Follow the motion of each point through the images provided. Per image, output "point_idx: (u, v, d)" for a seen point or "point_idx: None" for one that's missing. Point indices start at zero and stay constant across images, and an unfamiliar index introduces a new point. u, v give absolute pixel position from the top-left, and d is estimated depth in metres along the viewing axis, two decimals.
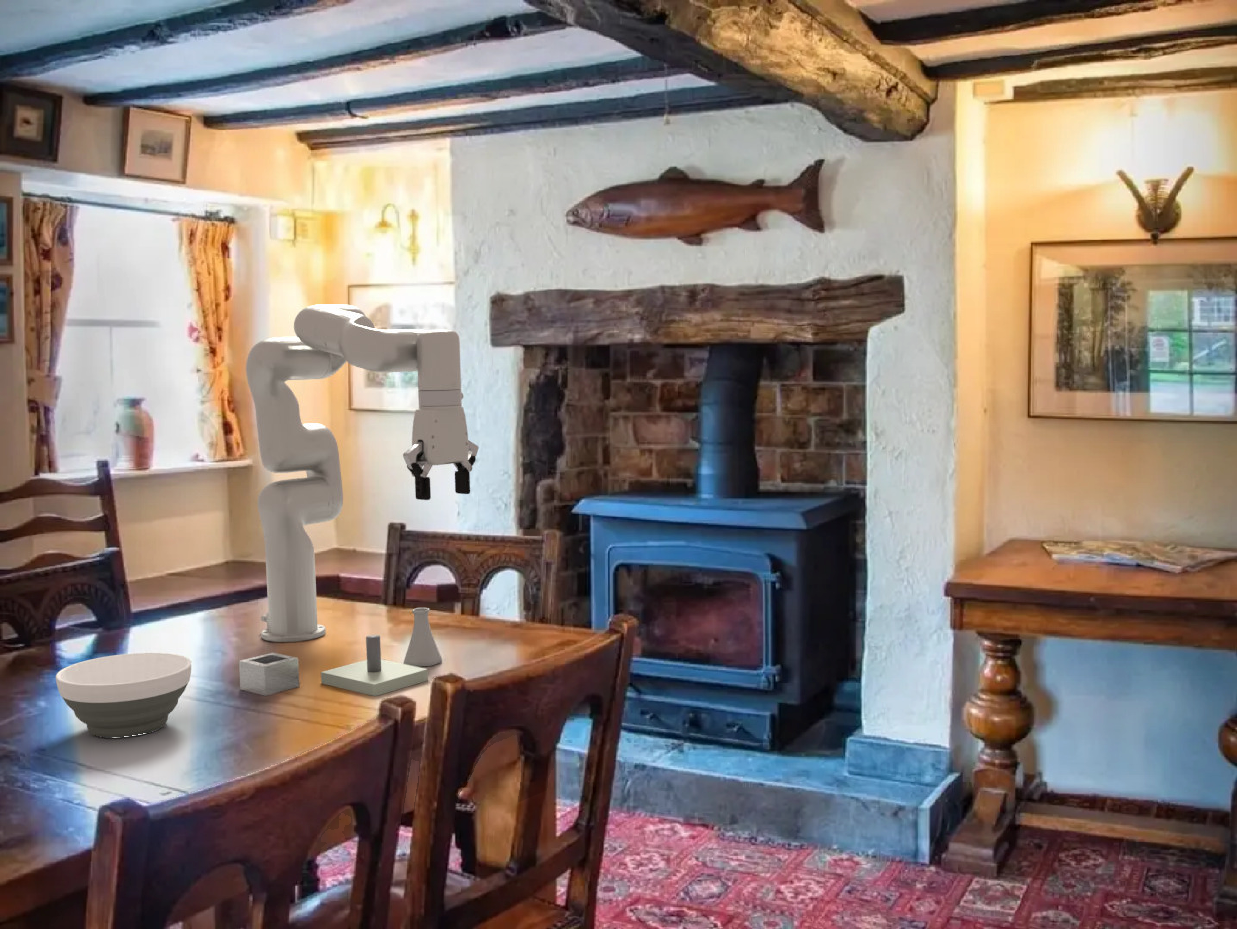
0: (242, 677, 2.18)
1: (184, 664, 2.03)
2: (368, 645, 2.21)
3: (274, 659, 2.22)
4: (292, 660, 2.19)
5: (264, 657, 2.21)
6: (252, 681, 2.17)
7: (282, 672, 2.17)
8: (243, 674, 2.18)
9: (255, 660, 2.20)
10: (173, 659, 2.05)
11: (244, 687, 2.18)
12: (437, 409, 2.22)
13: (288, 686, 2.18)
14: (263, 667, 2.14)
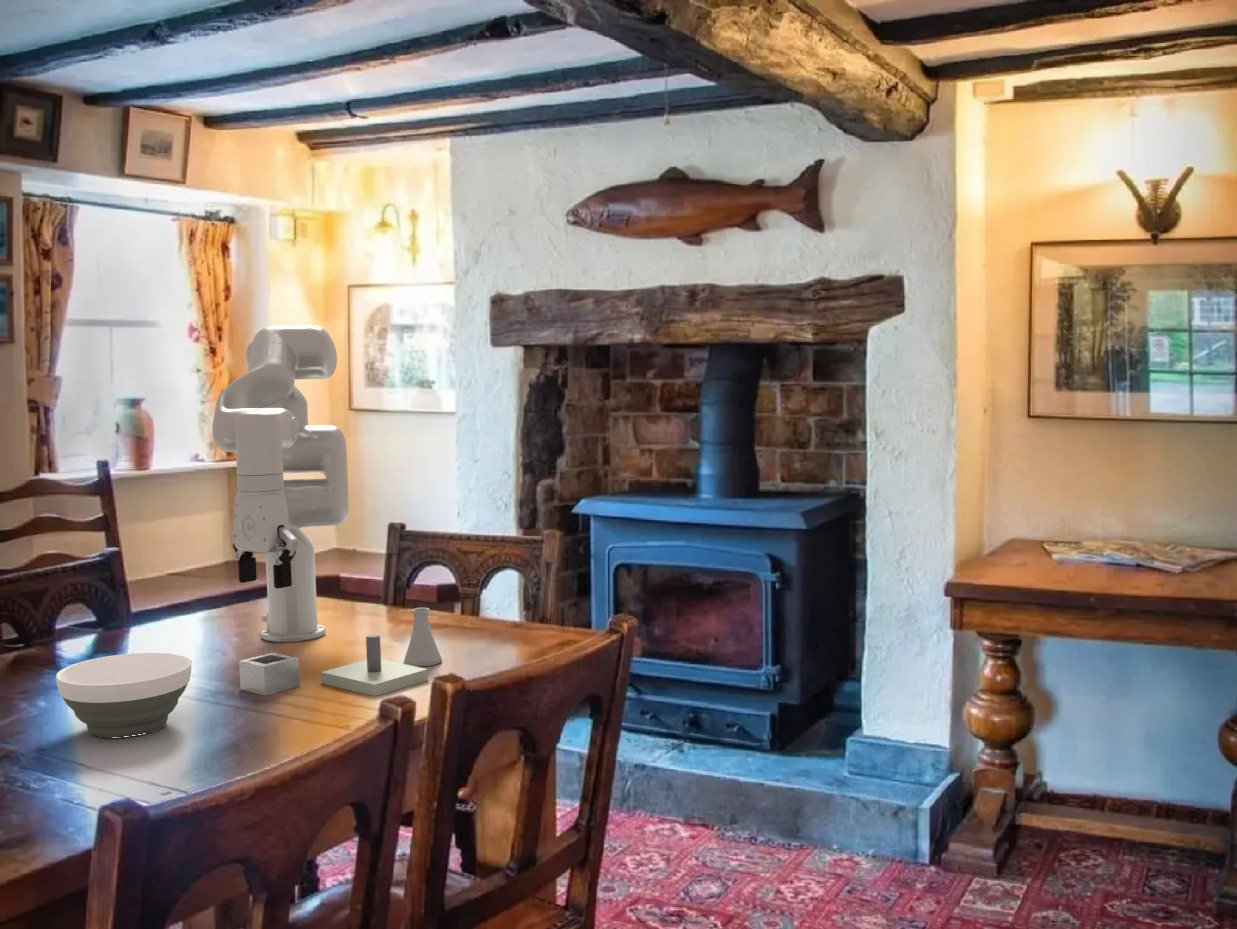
0: (242, 677, 2.18)
1: (184, 664, 2.03)
2: (368, 645, 2.21)
3: (274, 659, 2.22)
4: (292, 660, 2.19)
5: (264, 657, 2.21)
6: (252, 681, 2.17)
7: (282, 672, 2.17)
8: (243, 674, 2.18)
9: (255, 660, 2.20)
10: (173, 659, 2.05)
11: (244, 687, 2.18)
12: (282, 492, 2.16)
13: (288, 686, 2.18)
14: (263, 667, 2.14)
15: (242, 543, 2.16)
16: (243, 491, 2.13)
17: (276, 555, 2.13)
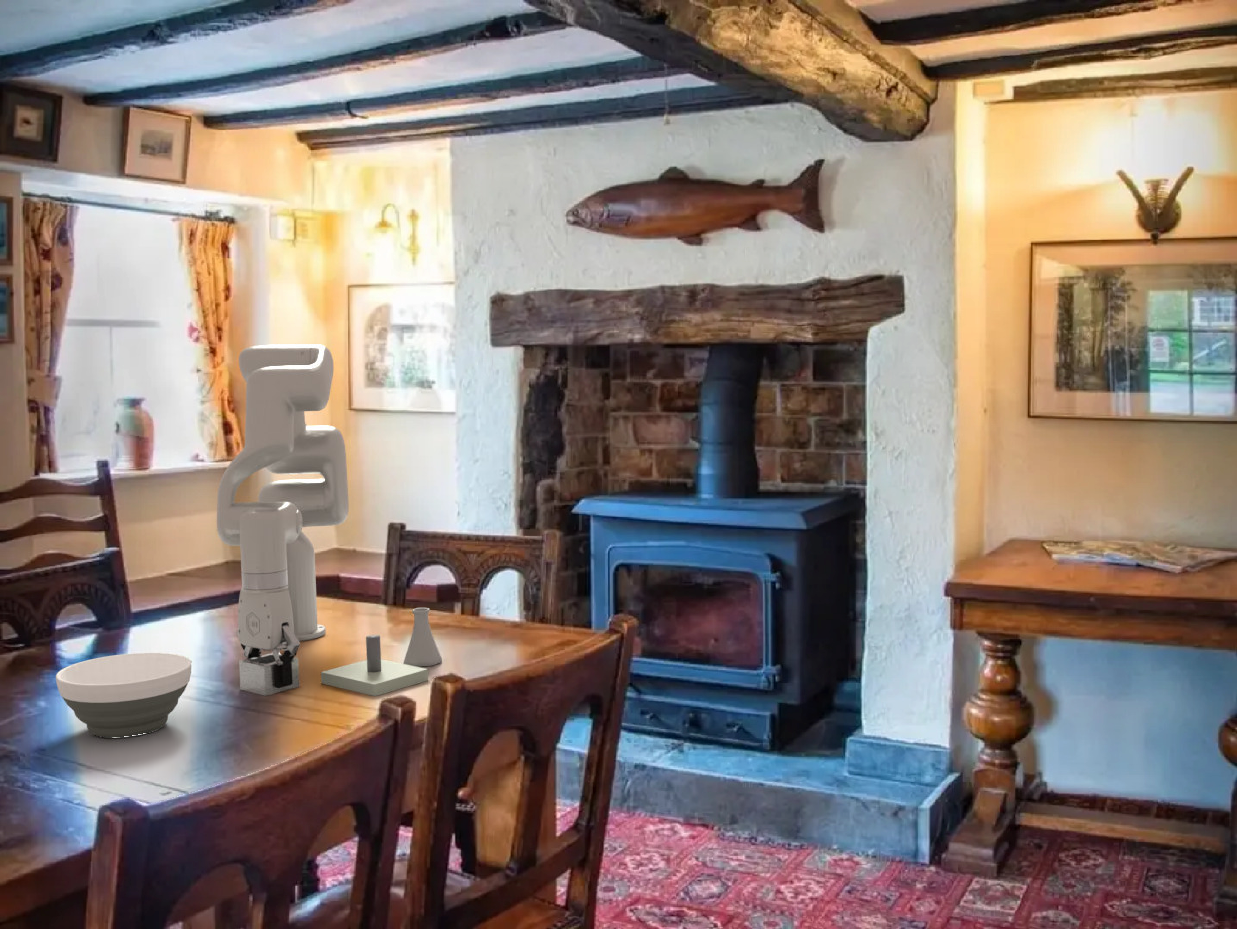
0: (242, 677, 2.18)
1: (184, 664, 2.03)
2: (368, 645, 2.21)
3: (274, 659, 2.22)
4: None
5: (264, 657, 2.21)
6: (252, 681, 2.17)
7: None
8: (243, 674, 2.18)
9: (255, 660, 2.20)
10: (173, 659, 2.05)
11: (244, 687, 2.18)
12: (286, 588, 2.18)
13: (288, 686, 2.18)
14: (263, 667, 2.14)
15: (247, 639, 2.18)
16: (247, 589, 2.15)
17: (278, 655, 2.15)
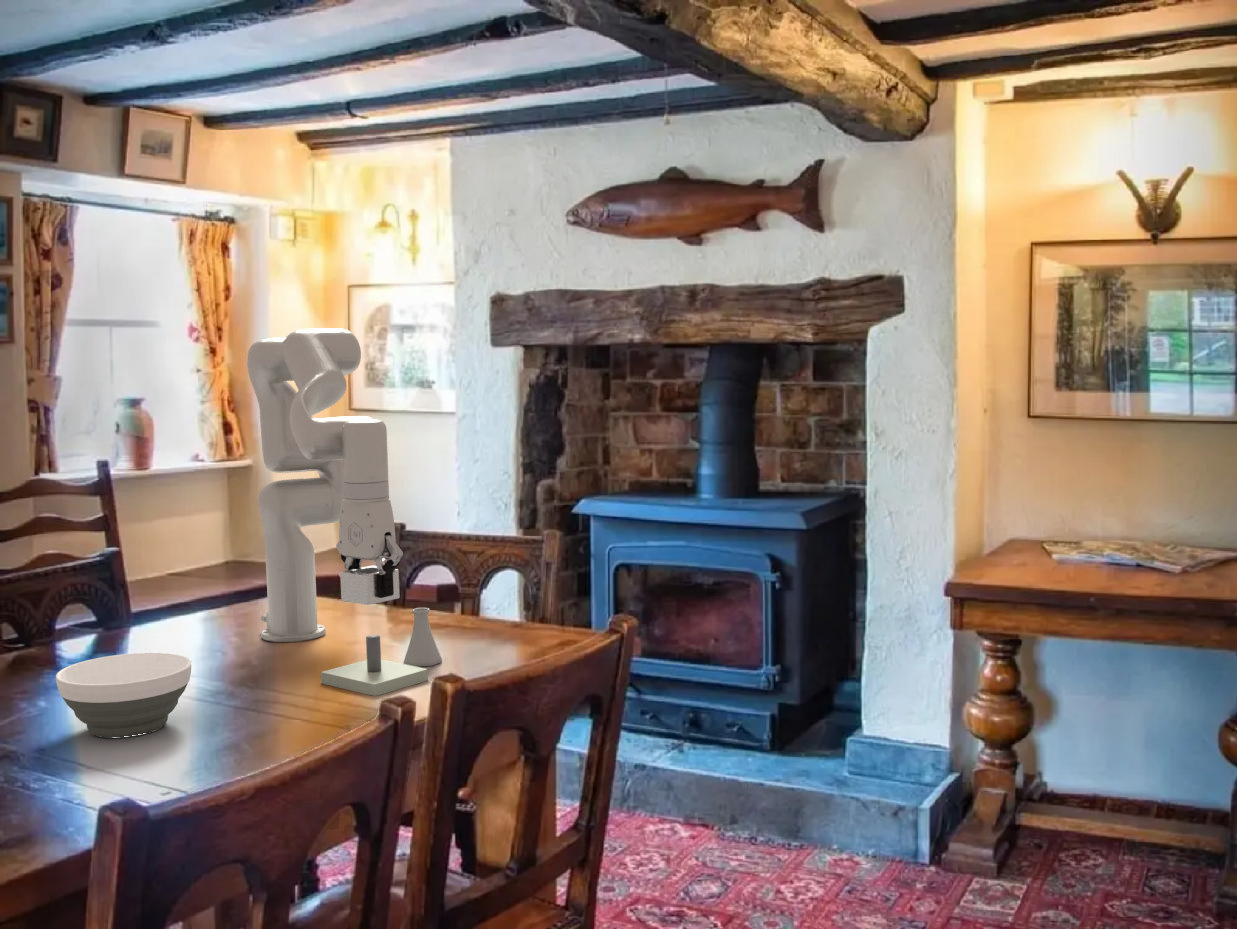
0: (343, 588, 2.20)
1: (184, 664, 2.03)
2: (368, 645, 2.21)
3: (374, 571, 2.23)
4: None
5: (364, 569, 2.22)
6: (354, 591, 2.18)
7: None
8: (344, 585, 2.19)
9: (356, 571, 2.21)
10: (173, 659, 2.05)
11: (345, 598, 2.19)
12: (388, 499, 2.19)
13: (389, 597, 2.19)
14: (366, 576, 2.16)
15: (348, 549, 2.19)
16: (351, 498, 2.16)
17: (380, 565, 2.16)
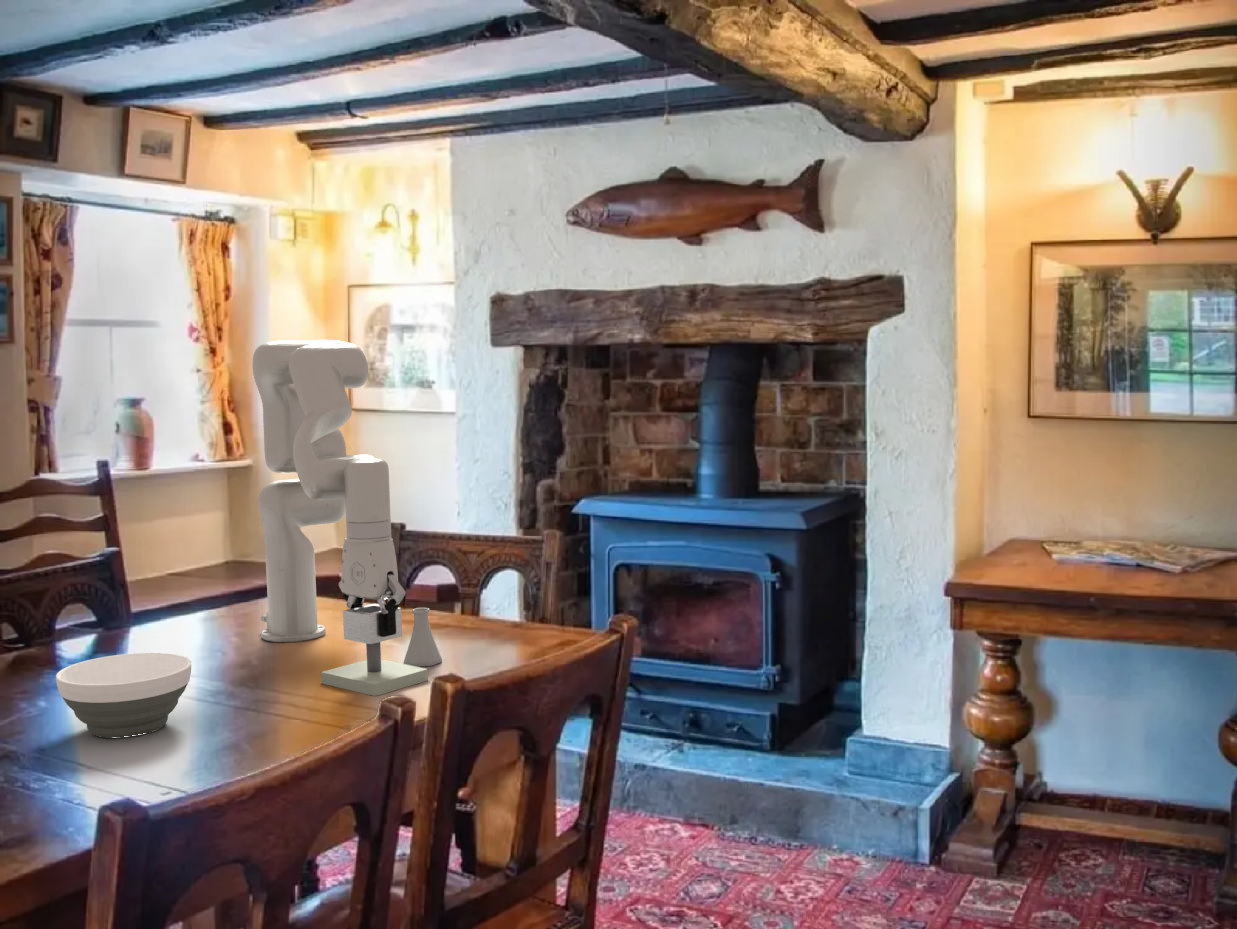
0: (346, 627, 2.20)
1: (184, 664, 2.03)
2: (368, 645, 2.21)
3: (376, 610, 2.24)
4: None
5: (366, 607, 2.23)
6: (357, 630, 2.18)
7: None
8: (347, 624, 2.20)
9: (358, 610, 2.21)
10: (173, 659, 2.05)
11: (348, 637, 2.20)
12: (390, 538, 2.20)
13: (392, 635, 2.20)
14: (369, 616, 2.16)
15: (351, 588, 2.20)
16: (353, 538, 2.17)
17: (383, 604, 2.17)
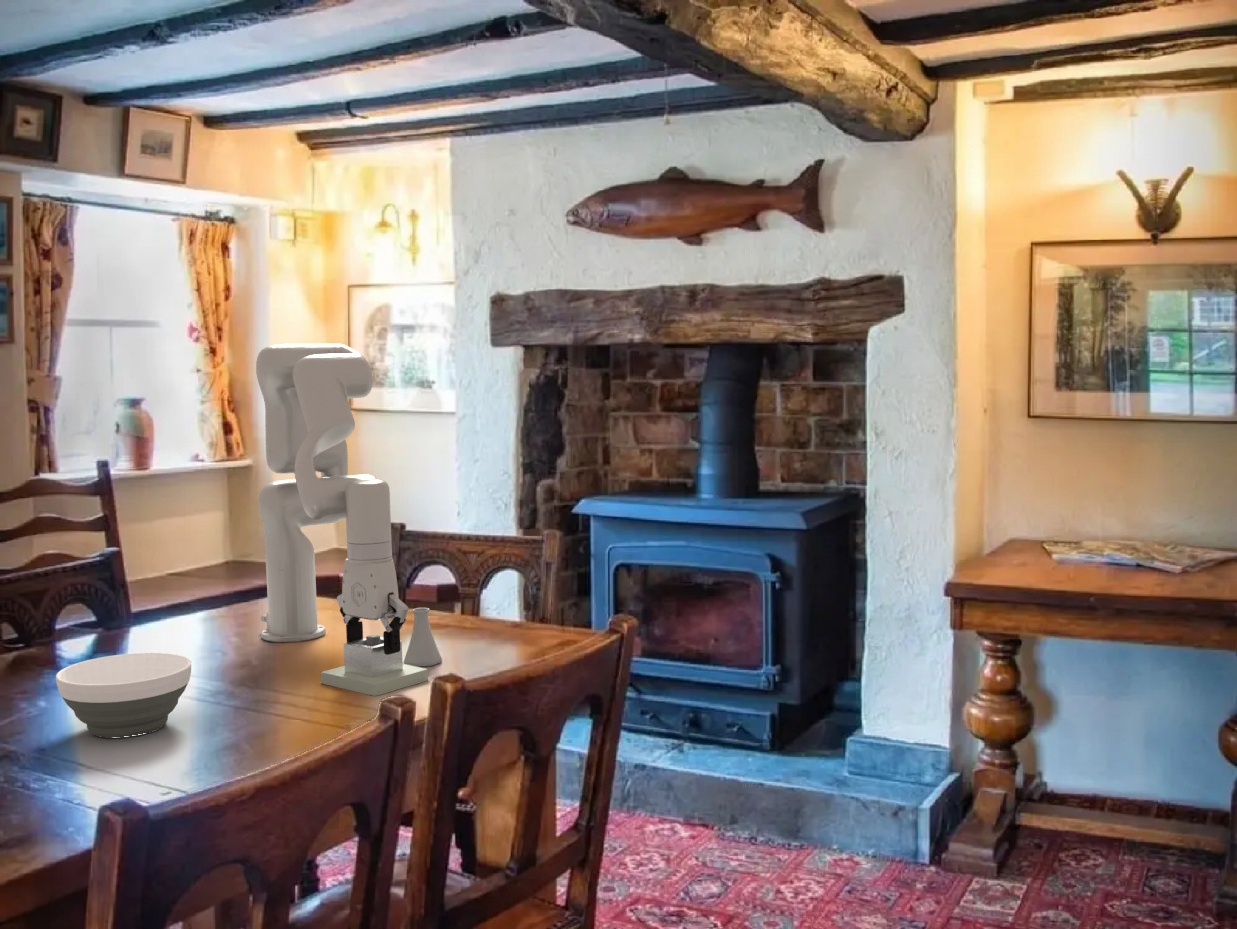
0: (346, 660, 2.21)
1: (184, 664, 2.03)
2: (368, 645, 2.21)
3: None
4: None
5: None
6: (357, 663, 2.19)
7: None
8: (348, 657, 2.21)
9: (359, 643, 2.22)
10: (173, 659, 2.05)
11: (349, 669, 2.21)
12: (391, 559, 2.20)
13: (392, 668, 2.21)
14: (370, 649, 2.17)
15: (352, 609, 2.20)
16: (354, 559, 2.17)
17: (386, 622, 2.17)
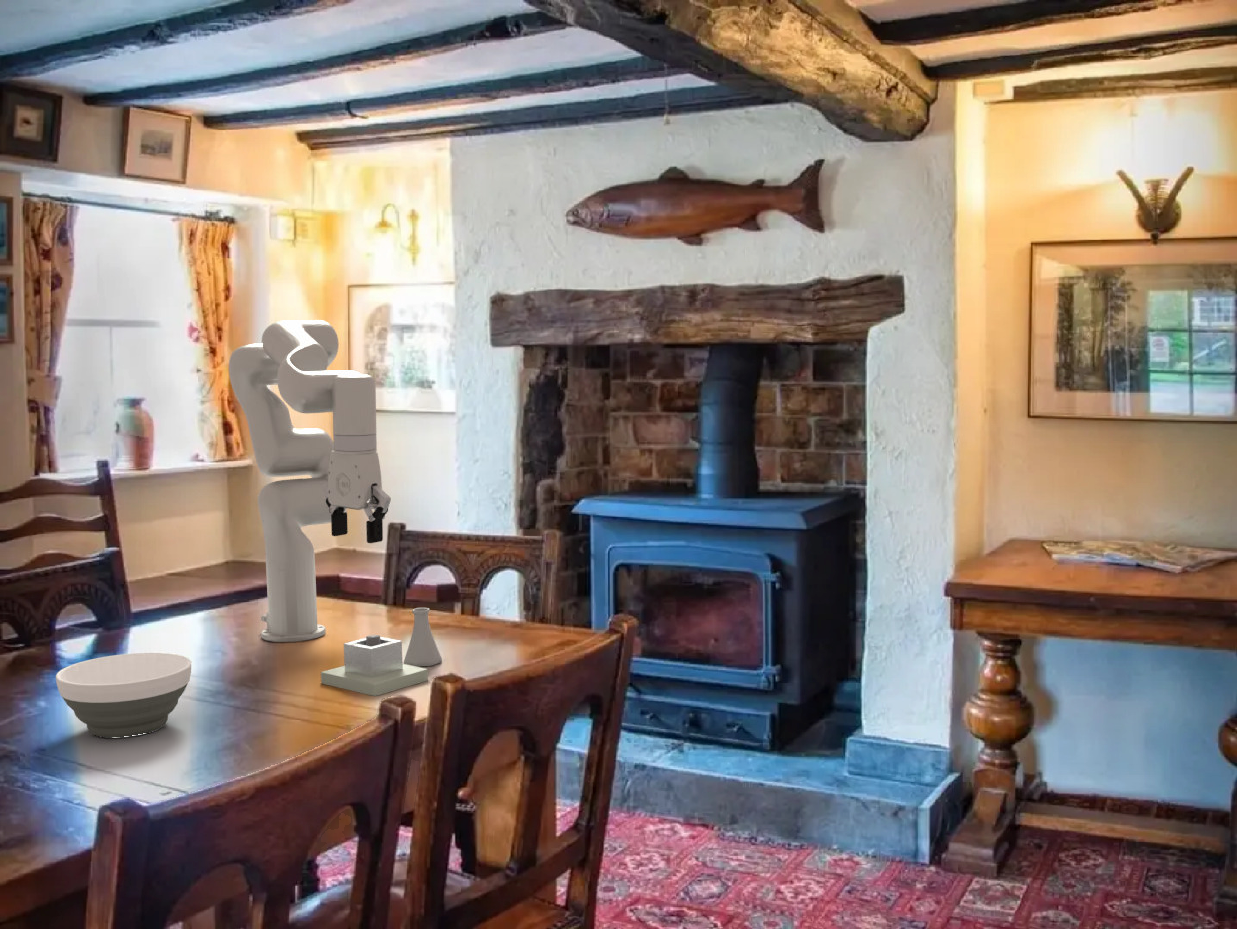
0: (346, 660, 2.21)
1: (184, 664, 2.03)
2: (368, 645, 2.21)
3: None
4: (396, 643, 2.21)
5: None
6: (357, 663, 2.19)
7: (387, 654, 2.20)
8: (348, 657, 2.21)
9: (359, 643, 2.22)
10: (173, 659, 2.05)
11: (349, 669, 2.21)
12: (375, 452, 2.27)
13: (392, 668, 2.21)
14: (370, 649, 2.17)
15: (336, 499, 2.28)
16: (339, 450, 2.24)
17: (369, 512, 2.24)
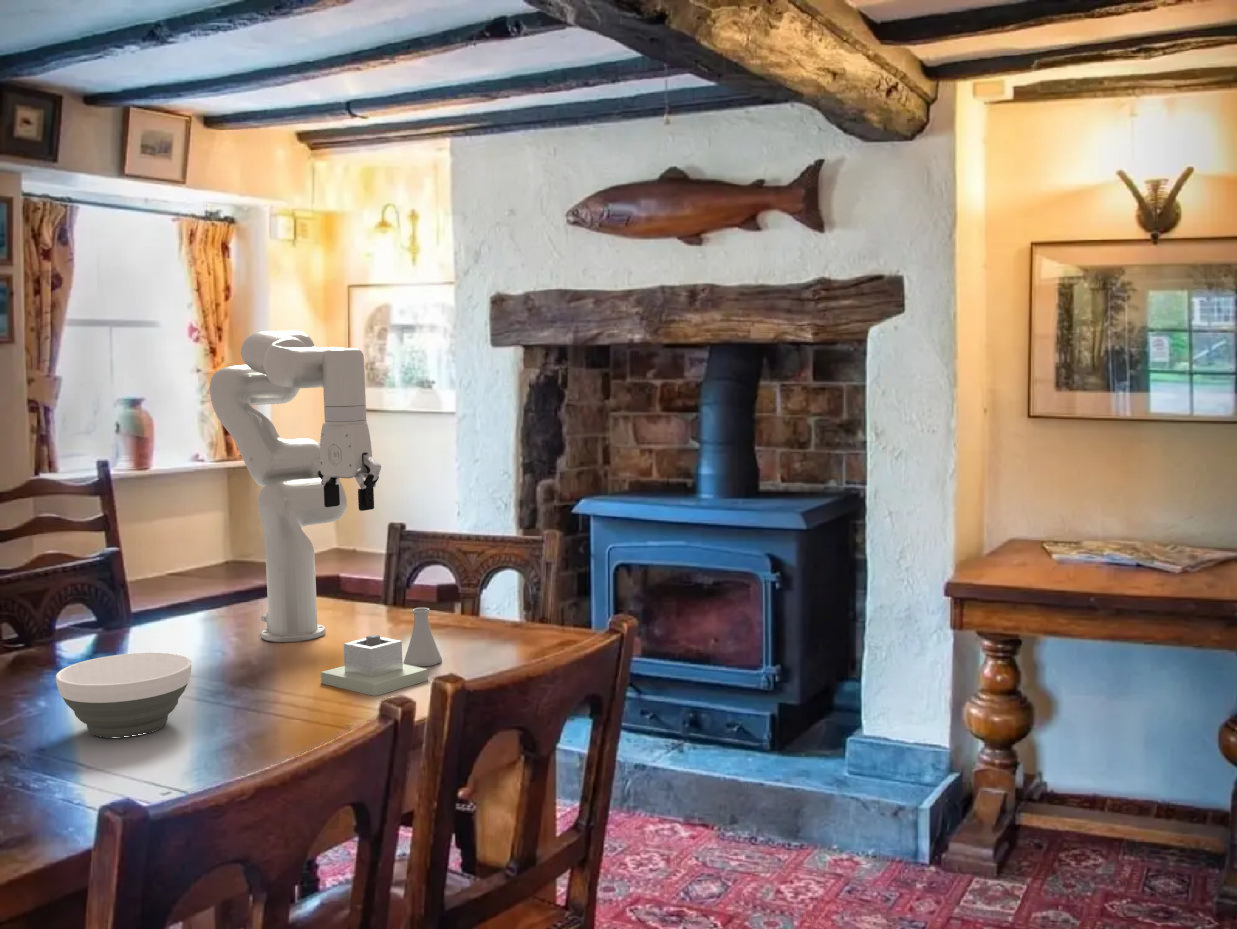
0: (346, 660, 2.21)
1: (184, 664, 2.03)
2: (368, 645, 2.21)
3: None
4: (396, 643, 2.21)
5: None
6: (357, 663, 2.19)
7: (387, 654, 2.20)
8: (348, 657, 2.21)
9: (359, 643, 2.22)
10: (173, 659, 2.05)
11: (349, 669, 2.21)
12: (365, 423, 2.35)
13: (392, 668, 2.21)
14: (370, 649, 2.17)
15: (328, 469, 2.35)
16: (330, 421, 2.32)
17: (361, 480, 2.32)
